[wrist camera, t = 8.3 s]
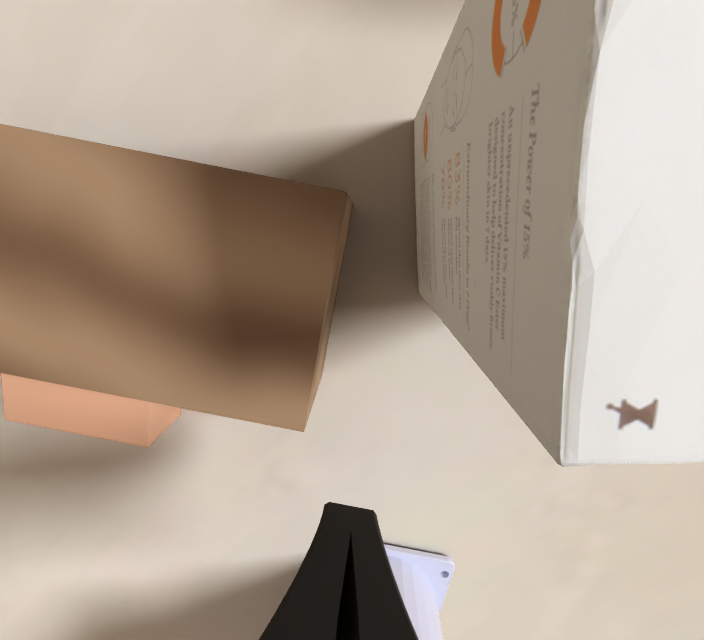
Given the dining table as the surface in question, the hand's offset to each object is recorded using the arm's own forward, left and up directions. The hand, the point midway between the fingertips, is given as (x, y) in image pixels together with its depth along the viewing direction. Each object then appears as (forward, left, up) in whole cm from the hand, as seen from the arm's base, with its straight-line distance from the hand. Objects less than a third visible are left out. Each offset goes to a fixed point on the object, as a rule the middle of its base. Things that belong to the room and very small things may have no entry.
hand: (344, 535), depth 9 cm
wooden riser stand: (+4, +13, -9) cm, 17 cm away
